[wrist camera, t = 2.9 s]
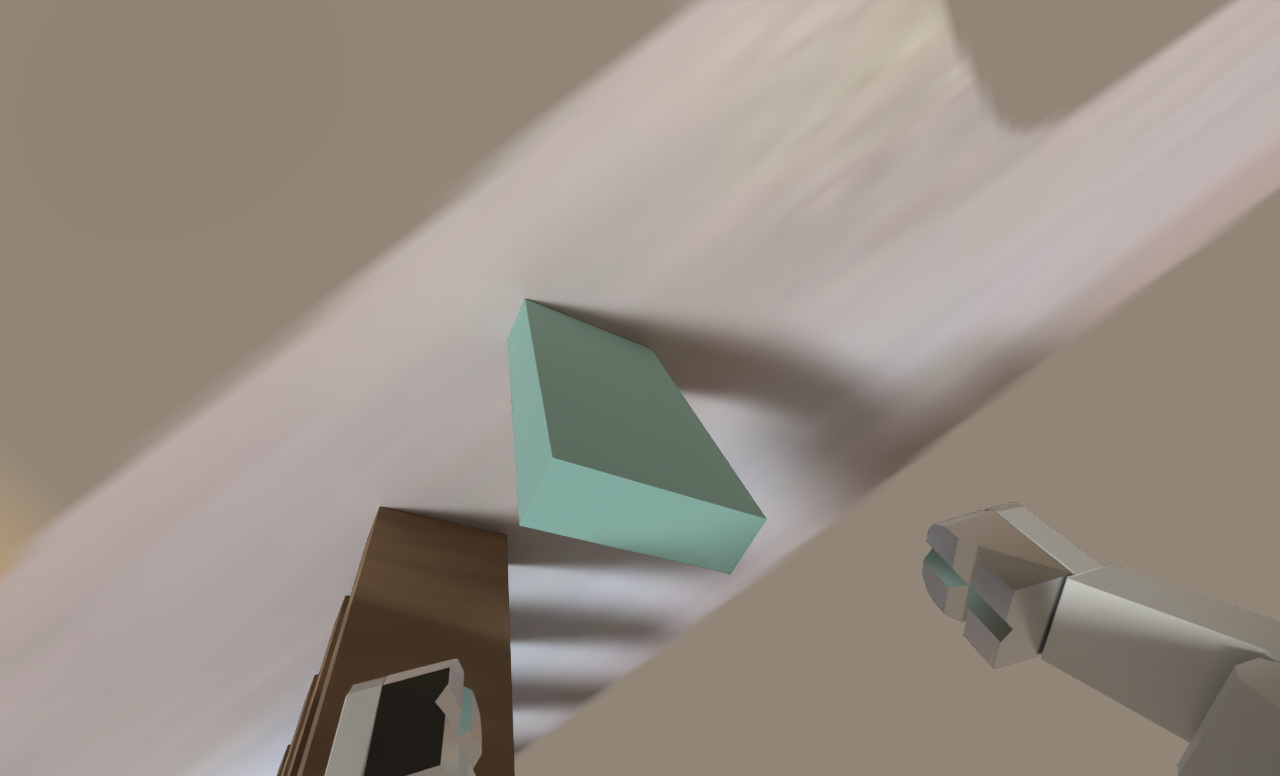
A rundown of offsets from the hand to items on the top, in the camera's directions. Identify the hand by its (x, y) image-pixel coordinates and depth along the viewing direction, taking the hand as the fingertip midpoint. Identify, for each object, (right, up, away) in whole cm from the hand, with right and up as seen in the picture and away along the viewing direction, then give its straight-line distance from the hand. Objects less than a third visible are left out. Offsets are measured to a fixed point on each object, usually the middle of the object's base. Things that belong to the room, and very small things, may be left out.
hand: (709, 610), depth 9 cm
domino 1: (-9, -2, +13) cm, 16 cm away
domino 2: (-3, +5, +11) cm, 12 cm away
